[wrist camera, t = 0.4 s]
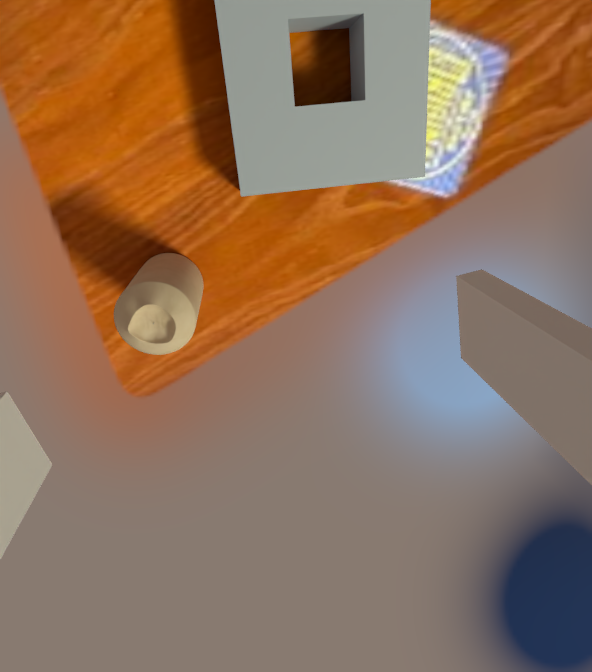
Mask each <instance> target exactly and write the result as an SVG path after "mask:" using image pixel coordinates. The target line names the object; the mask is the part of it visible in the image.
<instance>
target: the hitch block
mask: <svg viewBox="0 0 592 672" xmlns="http://www.w3.org/2000/svg"><path fill="white" fill-rule="evenodd" d="M214 1H215V8H216V16H217V23H218V31H219V38H220V45H221V53H222V60H223V67H224V75H225V82H226V89H227V97H228V104H229V112H230V119H231V126H232V134H233V141H234V148H235V156H236V163H237V170H238V178H239V185H240V193H241V196H250V195H259V194H268V193H278V192H287V191H296V190H306V189H315V188H324V187H333V186H343V185H352V184H361V183H371V182H380V181H389V180H398V179H408V178H417V177H425V154H426V124H427V94H428V63H429V33H430V3H431V0H214ZM343 28H349V40H350V72H351V102H340V103H329V104H318V105H307V106H297V107H295V102H294V90H293V77H292V64H291V52H290V39H289V33H292V32H304V31H317V30H330V29H343Z"/></svg>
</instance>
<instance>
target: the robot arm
mask: <svg viewBox="0 0 592 672" xmlns="http://www.w3.org/2000/svg"><path fill="white" fill-rule="evenodd" d="M456 277H457V295H458V311H459V329H460V345H461V358H462V359H463V360H464V361H465V362H466V363H467V364H468V365H469V366H470V367H471V368H472V369H473V370H474V371H475V372H476V373H477V374H478V375H479V376H480V377H481V378H482V379H483V380H484V381H485V382H486V383H488V385H490V386H491V387H492V388H493V389H494V390H495V391H496V392H497V393H498V394H499V395H500V396H501V397H502V398H503V399H504V400H505V401H506V402H507V403H508V404H509V405H510V406H511V407H512V408H513V409H514V410H515V411H516V412H517V413H518V414H519V415H520V416H521V417H523V418H524V420H525V421H526V422H528V423H529V425H531V426H532V427H533V428H534V429H535V430H536V431H537V432H538V433H539V434H540V435H541V436H542V437H543V438H544V439H545V440H546V441H547V442H548V443H549V444H550V445H551V446H552V447H553V448H554V449H555V450H556V451H557V452H558V453H559V454H560V455H561V456H562V457H563V458H564V459H566V461H567V462H568V463H569V464H571V465H572V466H573V467H574V468H575V469H576V470H577V471H578V472H579V473H580V474H581V475H582V476H583V477H584V478H585V479H586V480H587V481H588V482H589V483H590V484H591V485H592V328H590V327H588V326H586V325H584V324H582V323H580V322H578V321H577V320H575V319H573V318H571V317H569V316H567V315H566V314H564V313H562V312H560V311H558V310H556V309H554V308H552V307H551V306H549V305H547V304H545V303H543V302H541V301H540V300H538V299H536V298H534V297H532V296H530V295H528V294H527V293H525V292H523V291H521V290H519V289H517V288H515V287H513V286H512V285H510V284H508V283H506V282H504V281H502V280H501V279H499V278H497V277H495V276H493V275H491V274H489V273H487V272H486V271H484V270H478V271H474V272H470V273H467V274H463V275H459V276H456ZM51 466H52V464H51V462H50V460H49V459H48V457H47V455H46V454H45V452H44V451H43V449H42V447H41V446H40V444H39V442H38V441H37V439H36V438H35V436H34V434H33V433H32V431H31V430H30V428H29V426H28V424H27V423H26V421H25V420H24V418H23V416H22V415H21V413H20V412H19V410H18V408H17V407H16V405H15V403H14V402H13V400H12V398H11V397H10V395H9V394H8V392H3V393H0V559H1V557H2V555H3V553H4V552H5V550H6V548H7V546H8V544H9V542H10V541H11V539H12V537H13V535H14V533H15V532H16V530H17V528H18V526H19V524H20V523H21V521H22V519H23V517H24V515H25V513H26V512H27V510H28V508H29V506H30V504H31V503H32V501H33V499H34V497H35V495H36V493H37V491H38V490H39V488H40V486H41V484H42V483H43V481H44V479H45V477H46V475H47V473H48V472H49V470H50V468H51Z"/></svg>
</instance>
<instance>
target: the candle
mask: <svg viewBox="0 0 592 672" xmlns="http://www.w3.org/2000/svg"><path fill="white" fill-rule="evenodd" d="M202 294H203V279H202V276H201V273H200V271H199V269H198V268H197V266H196V265H195V264H194V263H193V262H192V261H191V260H189V259H188V258H186V257H184V256H182V255H179V254H175V253H163V254H159V255H156V256H154V257H152V258H150V259H149V260H148V261H147V262H146V263H145V264H144V265H143V266H142V267H141V269H140V270H139V271H138V273H137V274H136V275H135V277H134V278H133V279H132V281H131V282H130V283H129V285H128V286H127V287H126V289H125V290H124V291H123V293H122V294H121V295H120V297H119V298H118V300H117V302H116V305H115V309H114V321H115V325H116V328H117V330H118V332H119V334H120V335H121V337H122V338H123V339H124V340H125V341H126V342H127V343H128V344H129V345H130V346H132V347H133V348H135V349H137V350H139V351H141V352H144V353H148V354H155V355H161V354H168V353H172V352H174V351H177V350H179V349H180V348H182V347H183V346H184V345H185V344H187V342H188V341H189V340H190V339H191V337H192V335H193V333H194V330H195V327H196V322H197V318H198V313H199V308H200V303H201V299H202Z"/></svg>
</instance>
